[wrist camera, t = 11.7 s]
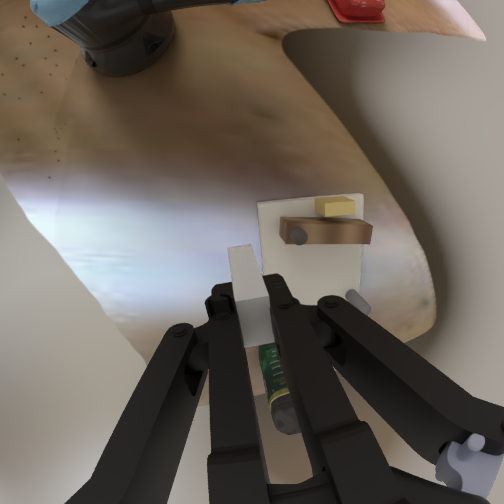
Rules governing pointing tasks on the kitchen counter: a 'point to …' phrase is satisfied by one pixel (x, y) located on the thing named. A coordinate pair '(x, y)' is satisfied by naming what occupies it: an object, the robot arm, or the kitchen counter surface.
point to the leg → (324, 230)
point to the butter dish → (358, 10)
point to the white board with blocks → (313, 250)
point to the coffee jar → (277, 391)
